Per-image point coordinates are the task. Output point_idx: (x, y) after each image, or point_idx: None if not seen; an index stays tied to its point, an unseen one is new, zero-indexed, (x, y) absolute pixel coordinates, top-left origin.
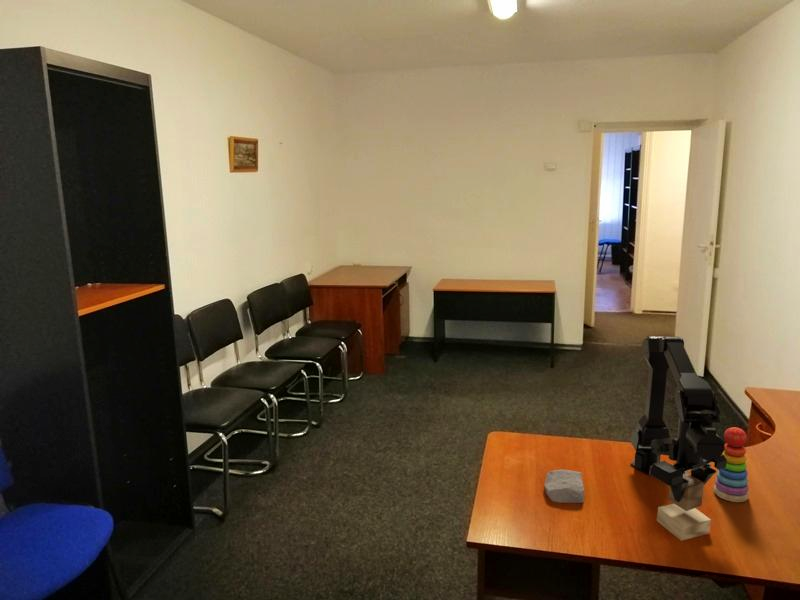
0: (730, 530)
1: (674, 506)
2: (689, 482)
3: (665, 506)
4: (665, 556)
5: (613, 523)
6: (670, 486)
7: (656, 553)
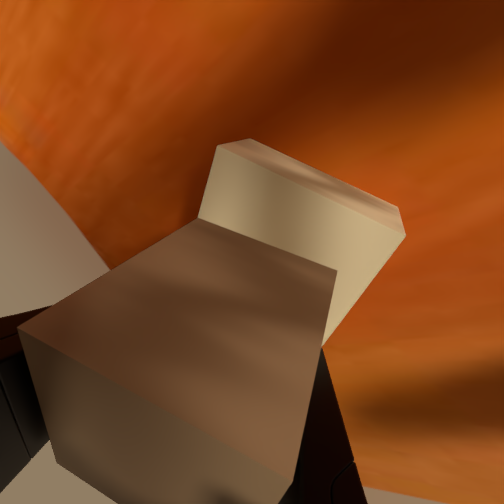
0: (397, 370)
1: (292, 210)
2: (123, 479)
3: (254, 172)
4: (117, 248)
5: (89, 7)
6: (40, 308)
7: (106, 225)
